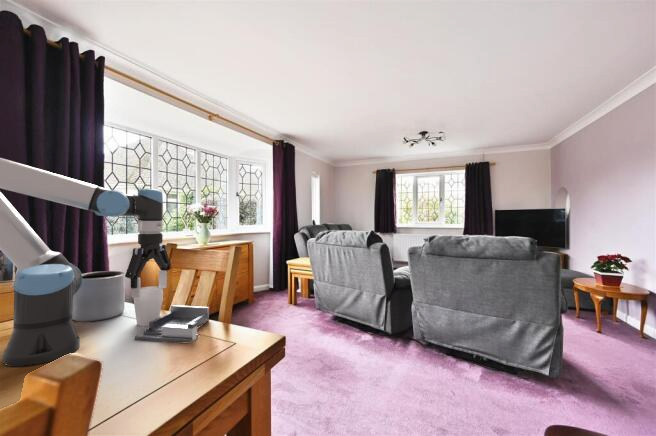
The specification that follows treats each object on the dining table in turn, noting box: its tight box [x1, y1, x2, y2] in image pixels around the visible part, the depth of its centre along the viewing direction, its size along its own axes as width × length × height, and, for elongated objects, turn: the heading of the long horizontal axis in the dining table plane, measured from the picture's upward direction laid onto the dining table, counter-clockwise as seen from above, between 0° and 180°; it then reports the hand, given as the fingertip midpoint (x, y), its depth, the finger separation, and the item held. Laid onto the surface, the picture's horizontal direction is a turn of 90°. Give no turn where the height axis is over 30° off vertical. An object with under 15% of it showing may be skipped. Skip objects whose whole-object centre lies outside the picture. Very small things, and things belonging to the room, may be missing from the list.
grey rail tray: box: [145, 304, 210, 332], centre depth 103 cm, size 14×14×5 cm
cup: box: [133, 285, 164, 327], centre depth 106 cm, size 9×9×12 cm
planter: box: [72, 270, 126, 323], centre depth 112 cm, size 16×16×16 cm
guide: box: [134, 330, 200, 343], centre depth 93 cm, size 18×5×1 cm, turn 84°
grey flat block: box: [161, 322, 198, 342], centre depth 93 cm, size 10×2×5 cm, turn 84°
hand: (150, 292), depth 106 cm, fingers open, 13 cm apart
